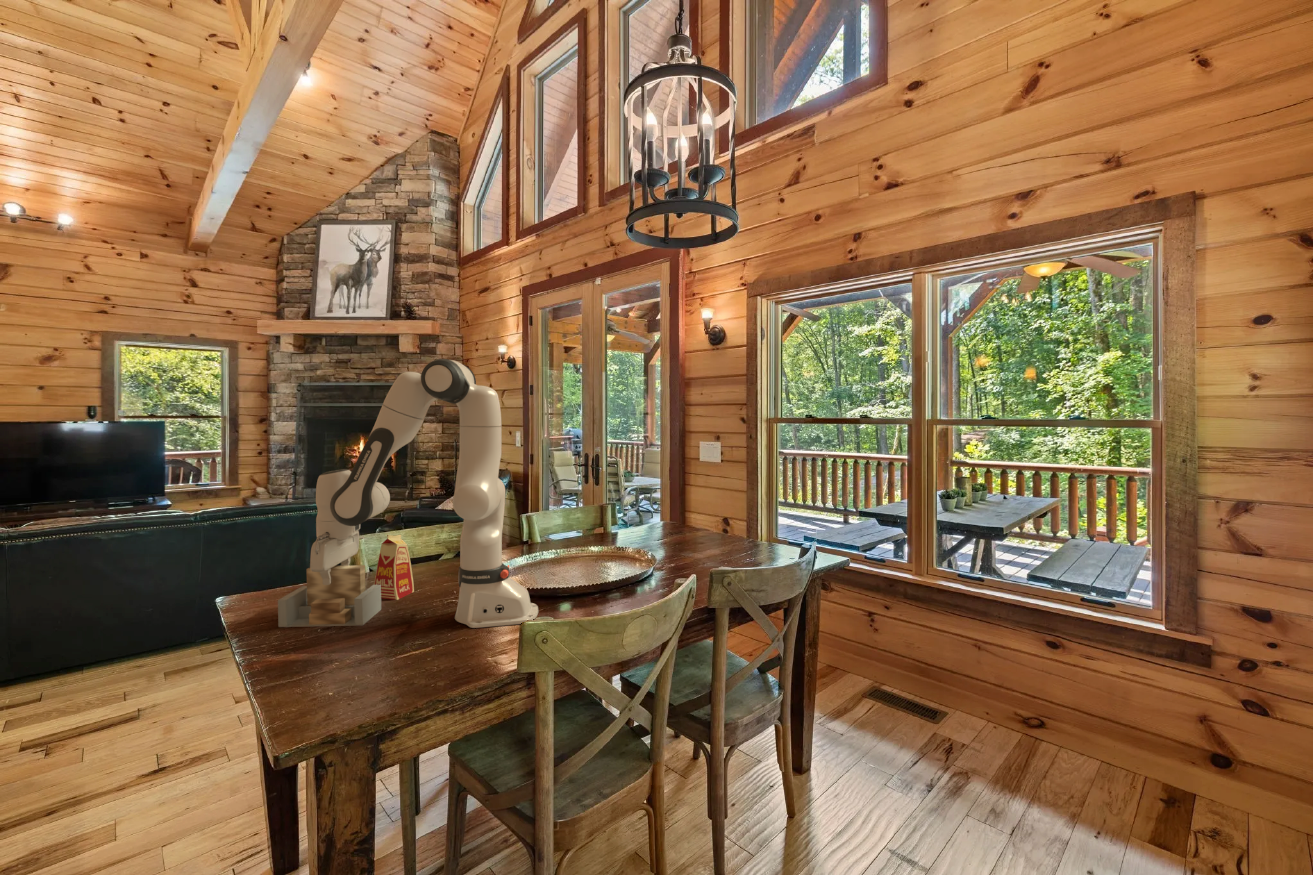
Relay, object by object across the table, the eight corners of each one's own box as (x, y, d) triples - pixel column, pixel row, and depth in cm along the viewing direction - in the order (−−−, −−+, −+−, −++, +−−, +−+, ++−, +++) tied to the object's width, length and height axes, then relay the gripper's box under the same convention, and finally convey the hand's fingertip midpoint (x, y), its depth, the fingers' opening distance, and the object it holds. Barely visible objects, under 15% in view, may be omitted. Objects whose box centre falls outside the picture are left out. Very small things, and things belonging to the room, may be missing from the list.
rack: (381, 613, 162) (380, 584, 162) (362, 629, 150) (362, 598, 150) (303, 614, 161) (302, 585, 160) (278, 631, 149) (277, 600, 149)
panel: (365, 611, 160) (364, 565, 160) (361, 615, 157) (360, 568, 157) (313, 612, 159) (312, 566, 159) (307, 616, 156) (306, 569, 156)
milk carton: (397, 603, 170) (396, 536, 169) (370, 601, 172) (369, 535, 171) (416, 594, 179) (415, 530, 178) (390, 592, 181) (389, 529, 180)
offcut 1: (345, 608, 155) (344, 598, 155) (339, 612, 151) (339, 602, 151) (316, 609, 154) (316, 599, 154) (311, 614, 150) (310, 603, 150)
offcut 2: (351, 618, 155) (351, 608, 155) (345, 623, 151) (344, 613, 151) (316, 619, 154) (316, 609, 154) (309, 624, 151) (308, 613, 150)
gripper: (328, 537, 147) (329, 590, 148) (363, 521, 167) (363, 568, 168) (302, 537, 147) (303, 591, 147) (340, 521, 167) (341, 568, 168)
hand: (335, 579), depth 158 cm, fingers open, 8 cm apart
